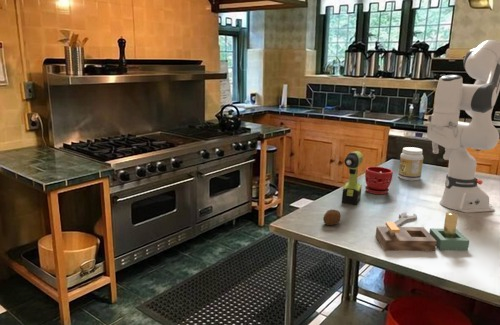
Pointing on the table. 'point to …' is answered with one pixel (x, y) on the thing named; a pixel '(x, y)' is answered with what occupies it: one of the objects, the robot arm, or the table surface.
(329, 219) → the potato
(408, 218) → the adjustable wrench
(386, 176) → the plant pot
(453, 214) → the gold rounded cylinder
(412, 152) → the supplement tub
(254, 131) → the table surface
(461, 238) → the green square frame
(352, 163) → the cordless drill
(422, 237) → the socket block
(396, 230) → the block
